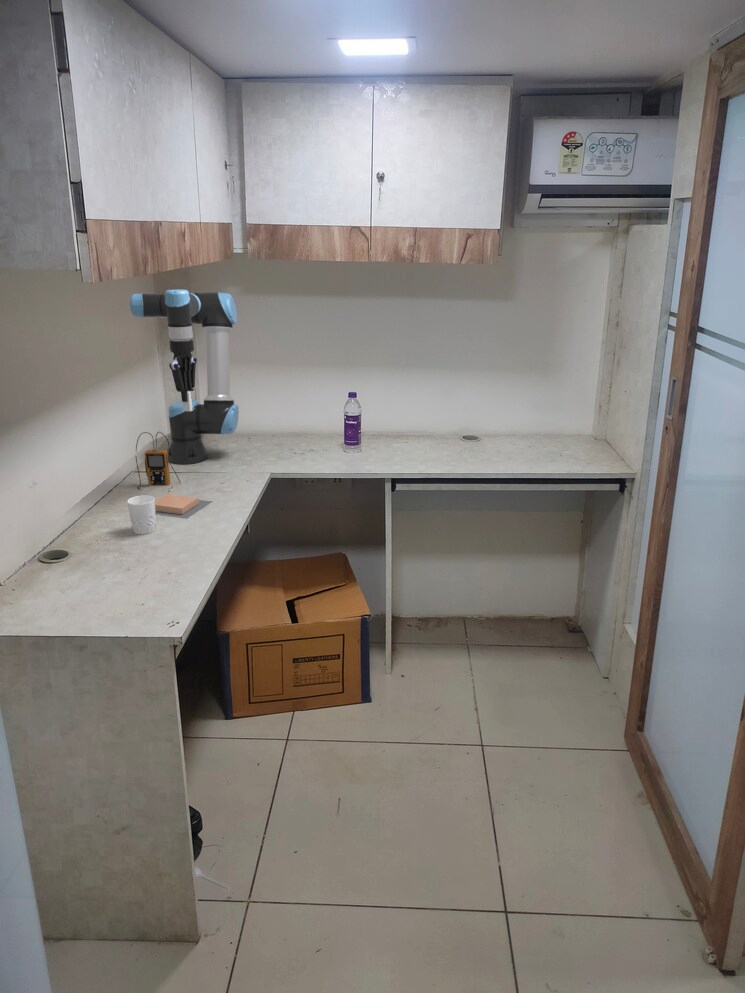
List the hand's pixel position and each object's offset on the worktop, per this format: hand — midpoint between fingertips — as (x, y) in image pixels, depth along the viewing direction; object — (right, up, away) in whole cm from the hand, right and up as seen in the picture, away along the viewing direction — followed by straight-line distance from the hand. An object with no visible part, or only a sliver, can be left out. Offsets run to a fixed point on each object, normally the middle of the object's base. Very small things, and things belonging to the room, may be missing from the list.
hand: (187, 410), depth 239 cm
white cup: (-8, -39, -21) cm, 45 cm away
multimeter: (-15, -26, +14) cm, 33 cm away
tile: (-2, -30, -1) cm, 30 cm away
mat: (-3, -33, -4) cm, 33 cm away
